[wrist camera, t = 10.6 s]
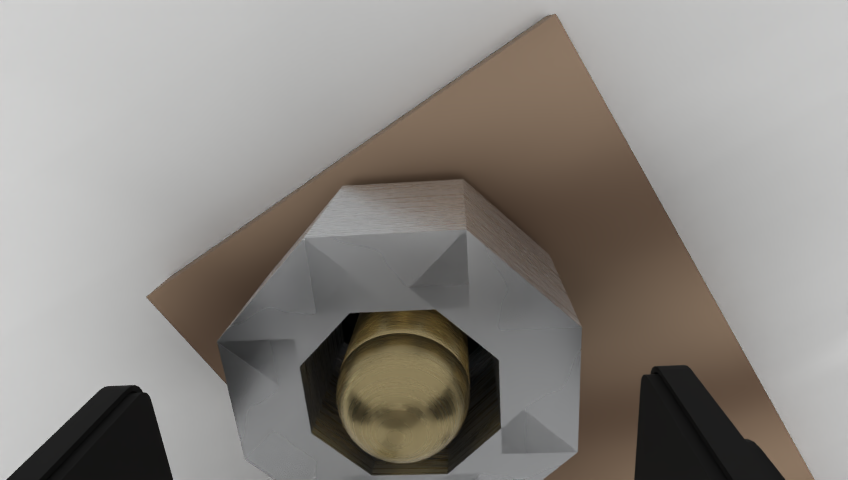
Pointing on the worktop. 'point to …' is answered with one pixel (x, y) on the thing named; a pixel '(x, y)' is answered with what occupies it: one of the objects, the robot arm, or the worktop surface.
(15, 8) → the worktop surface
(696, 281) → the base board
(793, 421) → the worktop surface
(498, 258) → the white octagonal block
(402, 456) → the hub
